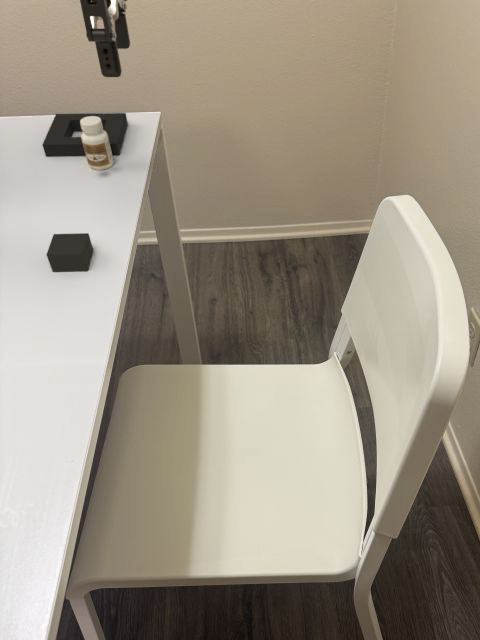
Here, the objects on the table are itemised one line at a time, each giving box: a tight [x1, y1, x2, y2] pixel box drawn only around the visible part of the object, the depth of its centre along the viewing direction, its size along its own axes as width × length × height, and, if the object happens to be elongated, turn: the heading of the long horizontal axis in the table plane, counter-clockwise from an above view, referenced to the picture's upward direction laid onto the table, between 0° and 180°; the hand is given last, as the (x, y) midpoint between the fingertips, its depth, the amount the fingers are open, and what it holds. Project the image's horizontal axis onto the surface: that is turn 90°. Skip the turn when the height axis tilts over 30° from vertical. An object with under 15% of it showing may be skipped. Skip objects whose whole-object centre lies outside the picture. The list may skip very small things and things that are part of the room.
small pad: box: [46, 232, 94, 273], centre depth 88 cm, size 5×5×3 cm
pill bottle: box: [80, 116, 115, 171], centre depth 104 cm, size 4×4×8 cm
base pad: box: [41, 112, 129, 157], centre depth 112 cm, size 13×12×2 cm
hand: (117, 61), depth 73 cm, fingers open, 8 cm apart
